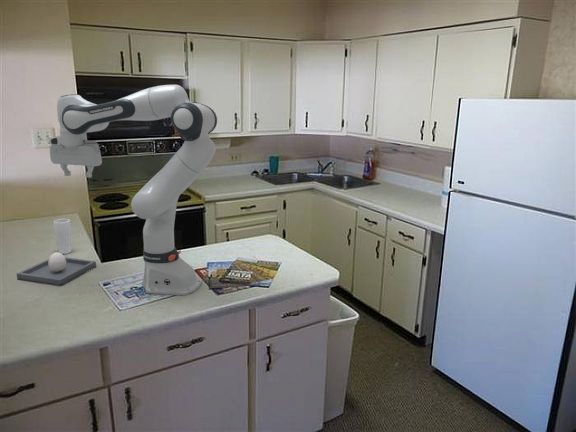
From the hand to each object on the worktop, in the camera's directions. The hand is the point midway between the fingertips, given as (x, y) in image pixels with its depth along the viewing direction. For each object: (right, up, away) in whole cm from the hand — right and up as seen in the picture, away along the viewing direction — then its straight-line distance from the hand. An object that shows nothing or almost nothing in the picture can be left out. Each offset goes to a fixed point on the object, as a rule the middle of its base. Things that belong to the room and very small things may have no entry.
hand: (78, 176), depth 166 cm
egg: (-13, -37, +10) cm, 41 cm away
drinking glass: (-21, -32, +32) cm, 50 cm away
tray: (-13, -38, +10) cm, 41 cm away
